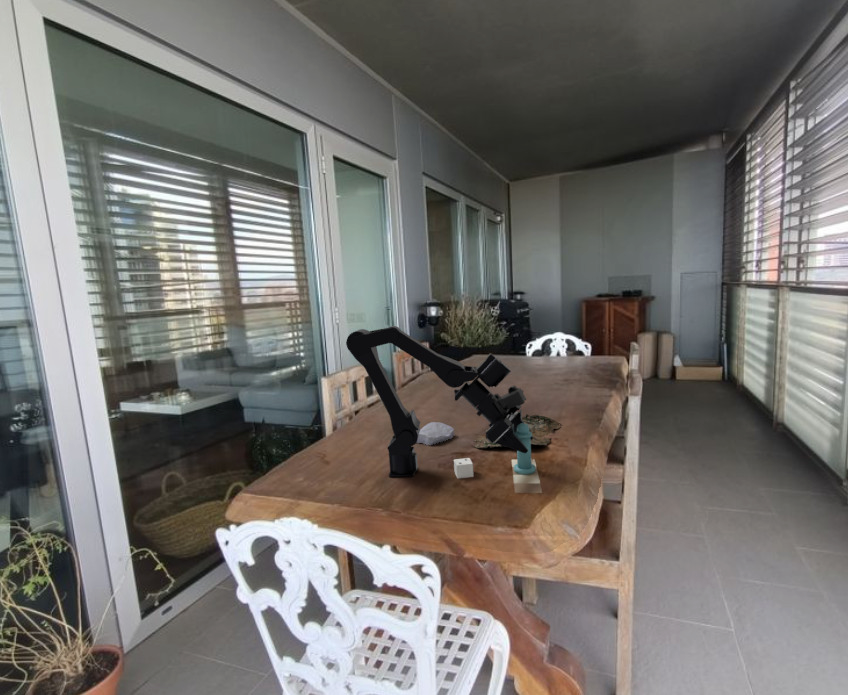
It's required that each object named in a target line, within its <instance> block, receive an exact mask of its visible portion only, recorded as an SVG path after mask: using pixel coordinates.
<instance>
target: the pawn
mask: <svg viewBox="0 0 848 695" xmlns="http://www.w3.org/2000/svg"><path fill="white" fill-rule="evenodd" d="M515 434H516V435H517V436H518V437H519V439H520V440H521V441H522V442H523V444H524V445H525V446H526V448H527V449H528V452H527V453H522V452H520V451H517V450H516V456H517V458H516V459H517V464H516V465H514V472H515V473H517V474H521V475H530V474H533V473H535V471H536V470H535V465H533V464H532V463H531V459H532V444H531V439H530V437H532V432H530V431H529V426H528V425H527V424H525V423H521V424H519V425H518V426H517V432H515Z"/></svg>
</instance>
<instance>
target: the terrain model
mask: <svg viewBox="0 0 848 695" xmlns="http://www.w3.org/2000/svg"><path fill="white" fill-rule="evenodd" d="M522 420H523V421H524V423H525V424H527V425H528V426H529V431H530V432H532V436H533V439H532V440H531V445H536V446H537V445H539V446H542V447H544V446H547V445H548V444H550V443H551V440H550V439H552V438H550V436H551V435H550V434H555V431H554V429H555V430H556V429H557V430H558V429H560V428H561V426H562V423H559V422H558V421H556V420H554V419H552V418H550V417H547V416H545V415H544V416H543V415H539V414H535V415H532V414H530V415H529V414H526V415H525V416H522ZM559 424H560V426H559ZM485 430H486V431H485V432H487V430H488V429H485ZM477 436H478V437H476V439H478V440H476V439H475V440H473V443H477V444H475V445H473V446H472V448H473V447H475V448H477V449H480V448H481V449H485V450H486V449H487V448H488V447H489V448H490V449H492V448H497V447H500V448H502V447H504V446H503V445H499V444H495V441H494V442H493V443H492V444H491V443H490V442H489V441H488V440H487V439H486V434H482V435H477ZM546 436H548V437H546ZM478 442H479V443H483V446H481V445H480V444H479V443H478ZM480 446H481V447H480Z"/></svg>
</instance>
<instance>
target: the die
mask: <svg viewBox="0 0 848 695" xmlns="http://www.w3.org/2000/svg"><path fill="white" fill-rule="evenodd" d="M453 468H454V474H455V476H456V478H457V479H466V478H474V464H473V461H472V460H471V458H470V457H465V458H457V459H456V458H454V459H453Z"/></svg>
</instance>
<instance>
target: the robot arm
mask: <svg viewBox="0 0 848 695" xmlns="http://www.w3.org/2000/svg"><path fill="white" fill-rule="evenodd" d="M345 343H346V344H345V345H346V349H347V350H348V351H349V353H350V355H352V356H353V357H354V359H355V360H356V361H357V362H358V363H359V364H360V365H361V366H362V367H363V368H364V370H365V372H366V374H367V375H368V378H369V379H370V382H371V383H372V385H373V387H374V389H375V391H376V392H377V394H378V396H379V398H380V400H381V402H382V404H383V406H384V407H385V410H386V412H387V414H388V415H389V416H388V417H389V420H390V423H391V427H392V428H391V429H392V431H393V436H391V439H390V442H389V443H388V445H387V447H386V448H387V451H388V461H389V462H388V464H389V473H388V477H391V478H393V477H399V478H400V477H408V478H409V477H414V476H415V474H416V472H417V471H418V468H419V464H418V463H419V462H418V453H417V452H416V451H415V446H414V445H416V444H417V443H416V442H417V439H418V436H419V432H420V430H421V428H420V426H421V421H420V420H419V419H418V417H417V414H416V412H415V410H414V409H412V410H410V411H408V409H407V408H406V407H405V406H404V405H403V403H402V401H401V399H400V397H399V395H398V393H397V391H396V390H395V387H394V385H393V383H392V382H391V380H390V377H389V376H388V373H387V372H386V370H385V368H384V366H383V364H382V362H381V360H380V358H379V353H378V348H377V347H380V346H383V345H387V344H392V345H393V346H396V348H398V349H400V350H401V351H403V352H405V353H406V354H407V355H409V356H410V357H412V358H413V359H415V360H417V361H419V362H420V363H422V364H423V365H425V366H426V367H427V368H429V369H430V370H431V371H432V372H433V373H435V375H436V377H438V378H439V379H440V380H441V381H442V382H443V383H445V384H446V386H448V387H450V388H452V389H454V390H453V392H454V401H455V402H457V401H459V400H460V399H461V398H463V399H465V400H466V402H468V404H470V405H471V406H472V407H473V408H474V409H475V410H476V411H477V412H476V415H477V416H478V417H480V416H482V417H484V419H486V421H488V422H489V424H488V427H489V428H488V429H486V430H487V431H485V435H486V439H487V440H488V441H489V442H490V443H491V444H492V443H493V442H494V441H495V444H499V445H503V446H502V447H506V448H510V449H512V450H515V451H516V452H517V451H520V452H522V453H527V452H528V449H527V448H526V446H525V445H524V444H523V442H522V441H521V440H520V439H519V437H518V436H517V435H516V434H515V432H517V426H518V425H519V424H521V423H524V421H523V420H522V417H523V415H522V414H523V409H521V408H522V405H524V404H525V401H527V398H526V396H525V394H524V390H523V389H521V387H517V386H516V385H512V386H510V387H508V391H507V392H508V393H505V394H504V395H502V396H501V395H499V393H494V394H493V392H491V391H490V390H489V389H488V388H493V387H494V388H497V387H498V385H500V384H501V382H503V381H504V379H506V377H508V375H509V374H510V373H511V372H512V370H511V369H510V368H509V367H508V366H507V365H506V364H505V362H503V360H501V359H498V357H496V356H495V355H494V354H493V353H491V352H490V353H489V354H488V355H487V356H486V358H485V359H484V360H483V361H482V362H481V363H480V364H479V366H470V365H464V364H463V363H462V362H460V361H458V360H455V359H453V358H450V357H448V356H445V355H442V354H440V353H437V352H436V351H434V350H432V349H431V348H430V347H428V346H426V345H425V344H423V343H422V342H420V341H418V340H417V339H415V338H414V337H412V336H411V335H410V334H408V333H406V332H405V331H403V330H401V328H400V327H398V326H396V325H392V326H389V327H384V328H380V329H374V330H370V331H369V330H368V329H364V328H360V329H357V330H355V331H353V332H351V333H350V334H349V335H348V337H347V339H346V342H345ZM480 380H481V381H480ZM471 381H472V382H471ZM486 386H487V387H486ZM457 388H459V389H457ZM530 439H531V440H532V439H533V436H532V437H530Z"/></svg>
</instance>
